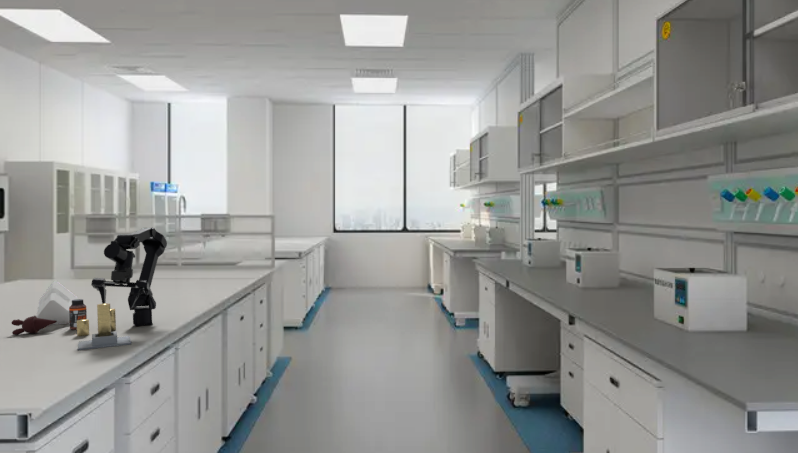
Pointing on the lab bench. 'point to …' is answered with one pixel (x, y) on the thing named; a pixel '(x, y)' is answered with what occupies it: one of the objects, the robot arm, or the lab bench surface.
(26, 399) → the lab bench surface
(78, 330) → the pin short
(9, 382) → the lab bench surface
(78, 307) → the supplement bottle
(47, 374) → the lab bench surface
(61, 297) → the slotted wedge
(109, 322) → the pin long
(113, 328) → the pin mid
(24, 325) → the icecream
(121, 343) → the gauge plate
